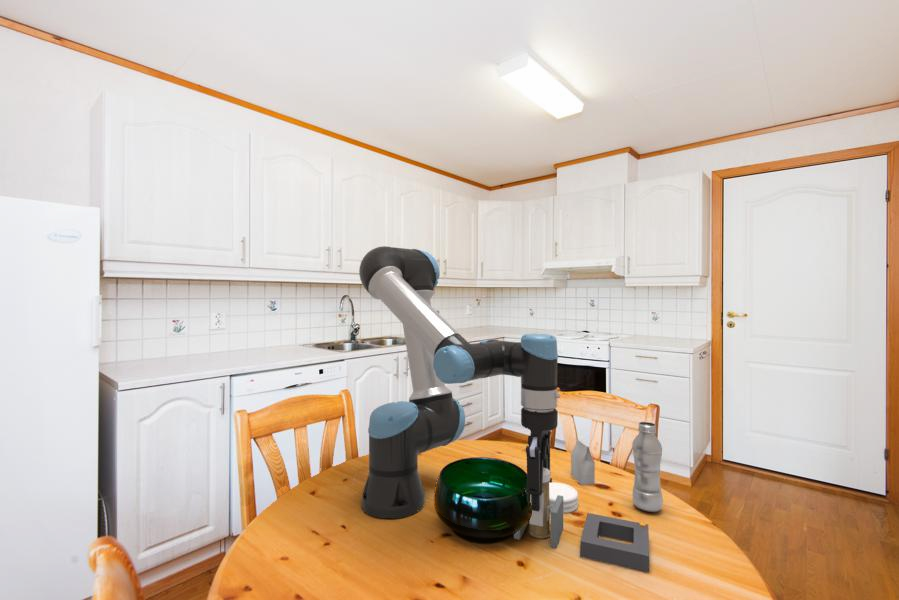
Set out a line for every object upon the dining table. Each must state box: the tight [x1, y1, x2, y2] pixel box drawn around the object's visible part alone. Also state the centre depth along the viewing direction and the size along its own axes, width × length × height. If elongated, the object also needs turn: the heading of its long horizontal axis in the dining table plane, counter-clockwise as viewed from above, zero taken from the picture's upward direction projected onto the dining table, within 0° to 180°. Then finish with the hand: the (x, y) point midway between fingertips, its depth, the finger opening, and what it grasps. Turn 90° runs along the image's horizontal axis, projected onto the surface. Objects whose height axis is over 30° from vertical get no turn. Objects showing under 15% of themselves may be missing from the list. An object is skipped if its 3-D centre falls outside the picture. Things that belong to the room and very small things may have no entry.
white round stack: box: [549, 481, 579, 515], centre depth 104 cm, size 10×10×4 cm
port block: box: [579, 512, 650, 574], centre depth 86 cm, size 12×12×3 cm
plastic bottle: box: [631, 421, 664, 513], centre depth 101 cm, size 6×7×20 cm
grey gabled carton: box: [570, 439, 596, 486], centre depth 118 cm, size 4×7×10 cm, turn 7°
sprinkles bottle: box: [528, 467, 551, 540], centre depth 91 cm, size 5×5×14 cm
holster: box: [513, 495, 564, 549], centre depth 91 cm, size 9×8×7 cm
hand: (539, 518), depth 91 cm, fingers closed on sprinkles bottle, 4 cm apart
